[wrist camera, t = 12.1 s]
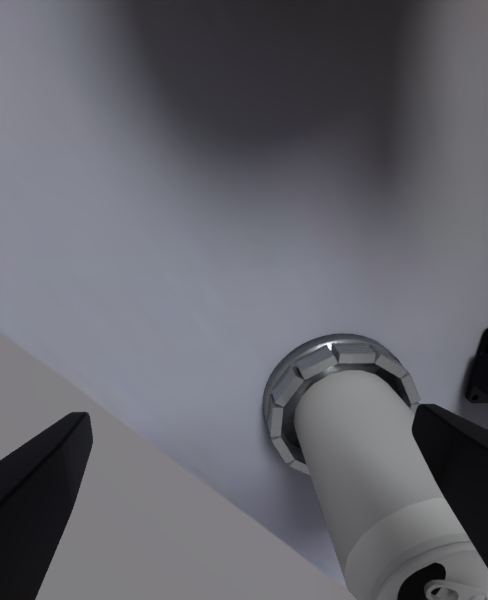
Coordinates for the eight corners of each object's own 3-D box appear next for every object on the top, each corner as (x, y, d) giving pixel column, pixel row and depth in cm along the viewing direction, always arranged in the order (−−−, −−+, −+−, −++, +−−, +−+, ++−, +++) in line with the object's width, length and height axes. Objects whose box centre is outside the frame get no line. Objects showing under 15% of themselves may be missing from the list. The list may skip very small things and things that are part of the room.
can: (305, 356, 22) (401, 535, 11) (404, 370, 23) (584, 545, 12) (280, 442, 24) (336, 663, 13) (370, 451, 25) (494, 662, 14)
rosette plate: (416, 333, 23) (438, 349, 21) (387, 452, 27) (404, 477, 25) (267, 333, 22) (274, 350, 20) (258, 456, 26) (263, 483, 24)
